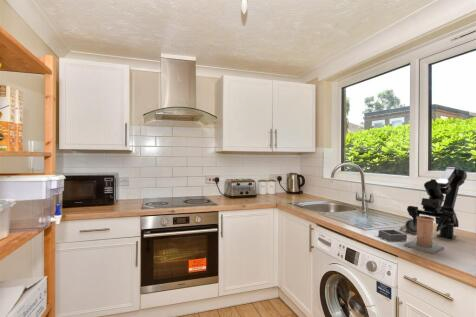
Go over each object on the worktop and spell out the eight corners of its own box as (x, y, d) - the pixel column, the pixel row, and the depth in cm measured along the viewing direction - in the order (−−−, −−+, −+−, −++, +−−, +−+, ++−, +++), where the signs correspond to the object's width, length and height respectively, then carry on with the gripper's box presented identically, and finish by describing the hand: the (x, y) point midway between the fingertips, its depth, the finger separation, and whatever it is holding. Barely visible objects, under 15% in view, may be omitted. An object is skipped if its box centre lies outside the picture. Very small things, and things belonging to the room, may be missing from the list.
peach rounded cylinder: (419, 241, 128) (419, 215, 128) (435, 245, 122) (436, 218, 122) (411, 245, 123) (412, 217, 123) (428, 249, 118) (429, 220, 117)
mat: (414, 241, 131) (415, 239, 131) (444, 248, 122) (444, 246, 122) (404, 246, 125) (404, 243, 124) (434, 254, 115) (434, 251, 115)
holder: (393, 235, 142) (394, 229, 141) (406, 240, 133) (406, 234, 133) (378, 235, 140) (378, 229, 140) (390, 241, 131) (390, 235, 131)
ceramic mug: (423, 231, 149) (424, 218, 149) (420, 234, 143) (421, 220, 143) (402, 228, 156) (402, 215, 156) (398, 230, 151) (398, 217, 150)
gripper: (408, 189, 134) (398, 214, 127) (454, 194, 118) (445, 222, 112) (415, 203, 138) (405, 227, 132) (459, 210, 123) (451, 237, 117)
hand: (425, 228), depth 123 cm, fingers open, 9 cm apart
